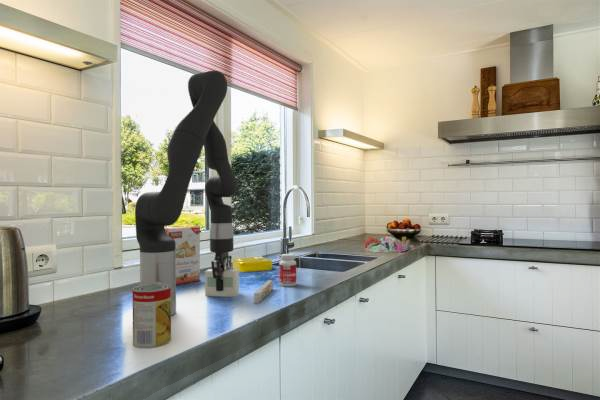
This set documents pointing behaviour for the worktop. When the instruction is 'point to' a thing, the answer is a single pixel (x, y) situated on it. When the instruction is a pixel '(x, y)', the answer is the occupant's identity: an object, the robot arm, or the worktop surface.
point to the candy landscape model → (387, 244)
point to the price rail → (263, 291)
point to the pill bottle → (287, 270)
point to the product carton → (228, 283)
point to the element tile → (252, 264)
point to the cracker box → (186, 252)
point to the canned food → (151, 315)
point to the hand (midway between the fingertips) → (222, 289)
